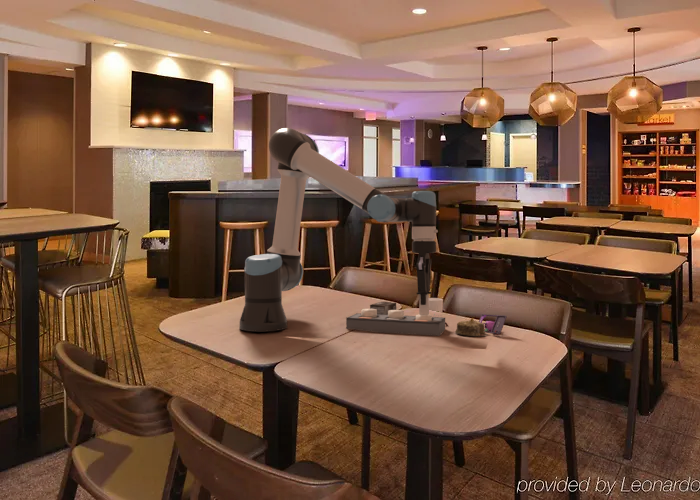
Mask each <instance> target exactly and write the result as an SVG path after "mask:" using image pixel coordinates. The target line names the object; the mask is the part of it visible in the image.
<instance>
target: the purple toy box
mask: <svg viewBox="0 0 700 500" xmlns="http://www.w3.org/2000/svg"><path fill="white" fill-rule="evenodd" d="M486 317H494V318H495V321H493V320H486V321H485V322H483V321H484V319H485V318H486ZM507 318H508V317H507V315H502V314H487V313H486V314H485V313H483V314H481V315H480V318H479V320H478V322H480V323H483V324H484V329H485V330H484V332H485V333H486V334H495V335H500V334H501V333H502V330H503V328H504V325H505V323H506V320H507Z"/></svg>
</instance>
